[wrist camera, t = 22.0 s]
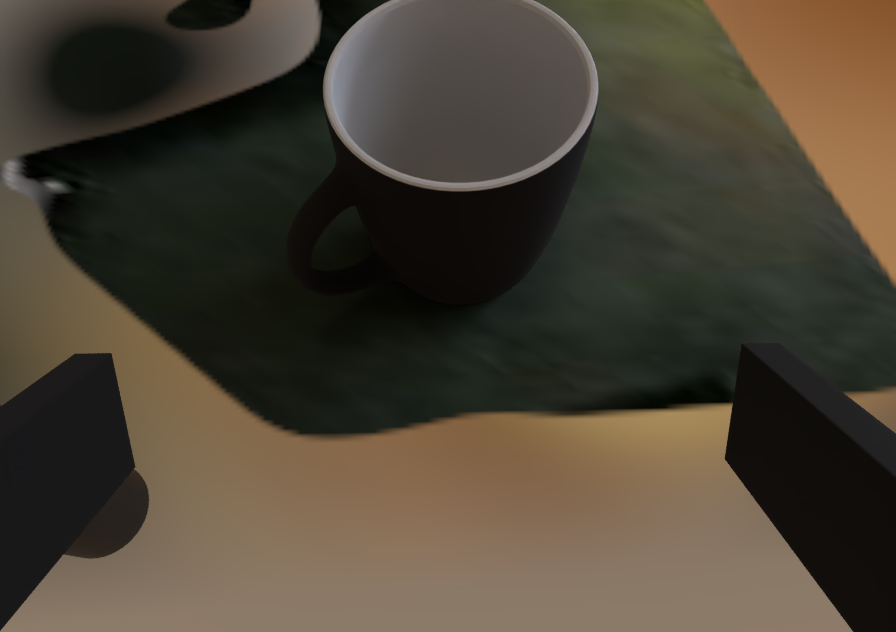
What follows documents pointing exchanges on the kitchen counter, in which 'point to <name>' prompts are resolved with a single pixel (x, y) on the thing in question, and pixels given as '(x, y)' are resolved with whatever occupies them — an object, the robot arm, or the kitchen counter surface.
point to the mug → (450, 145)
